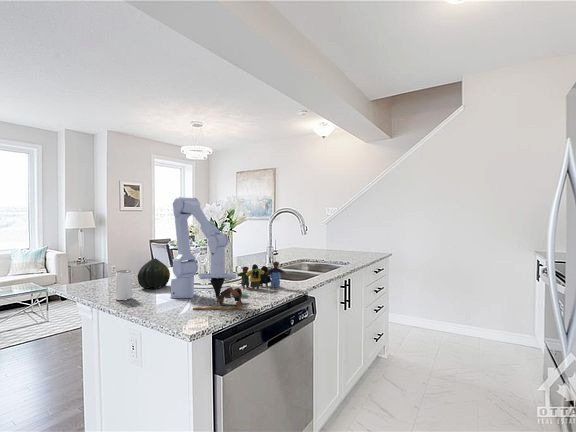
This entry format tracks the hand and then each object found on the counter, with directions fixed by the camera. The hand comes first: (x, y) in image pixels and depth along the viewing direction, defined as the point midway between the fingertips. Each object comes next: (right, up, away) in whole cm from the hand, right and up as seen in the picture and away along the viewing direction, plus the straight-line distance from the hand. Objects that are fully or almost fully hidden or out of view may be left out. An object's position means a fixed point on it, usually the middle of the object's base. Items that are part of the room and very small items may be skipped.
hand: (217, 296), depth 134 cm
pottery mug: (+6, -3, -2) cm, 7 cm away
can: (-42, -3, +7) cm, 43 cm away
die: (+5, -2, +12) cm, 13 cm away
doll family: (+16, -3, +27) cm, 31 cm away
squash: (-38, -3, +29) cm, 48 cm away
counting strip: (+2, -3, -8) cm, 8 cm away
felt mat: (+7, -3, +13) cm, 15 cm away
